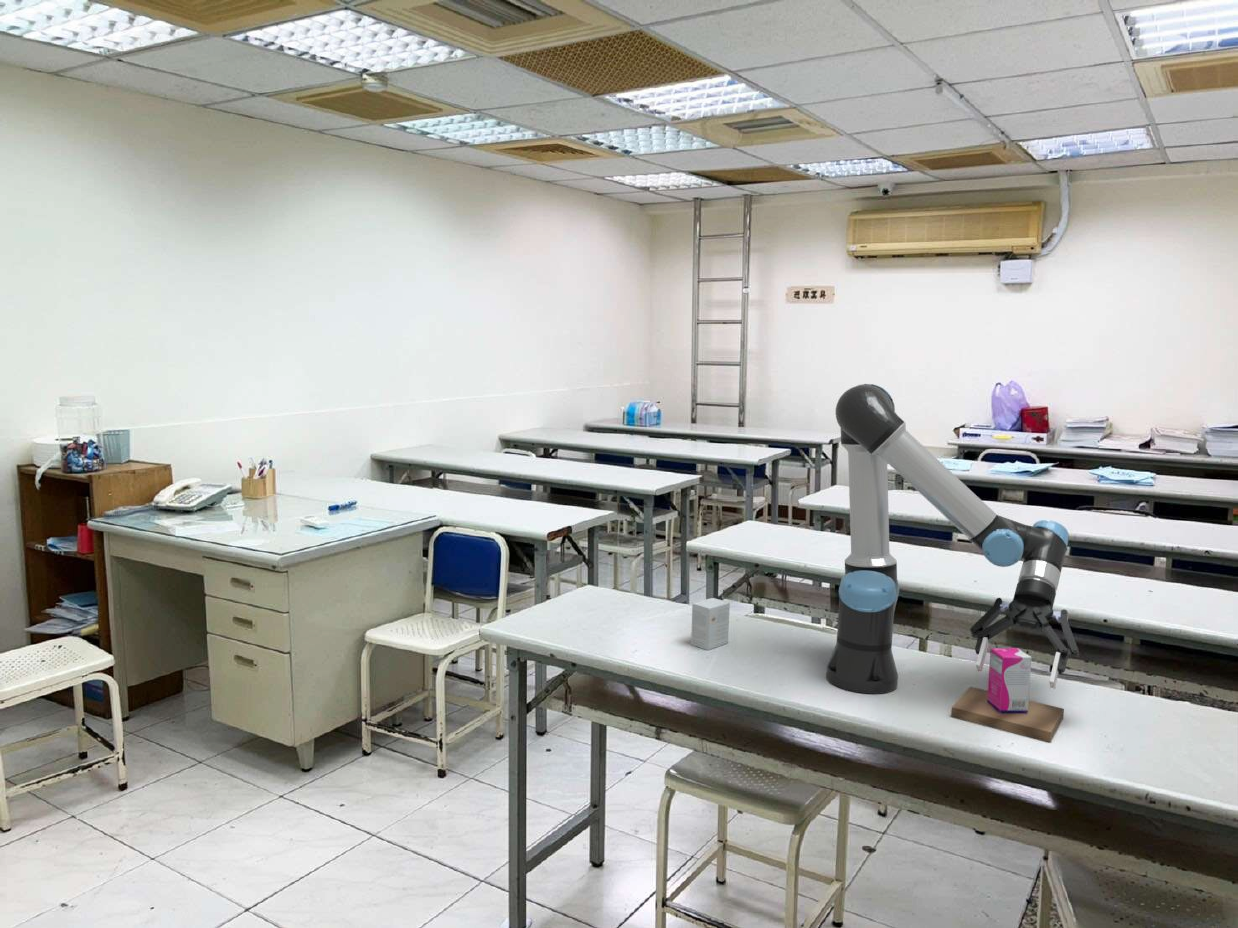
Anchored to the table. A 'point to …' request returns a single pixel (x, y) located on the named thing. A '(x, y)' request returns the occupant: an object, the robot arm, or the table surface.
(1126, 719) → the table surface
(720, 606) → the small box
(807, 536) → the table surface
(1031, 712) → the brown flat block
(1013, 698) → the supplement box
